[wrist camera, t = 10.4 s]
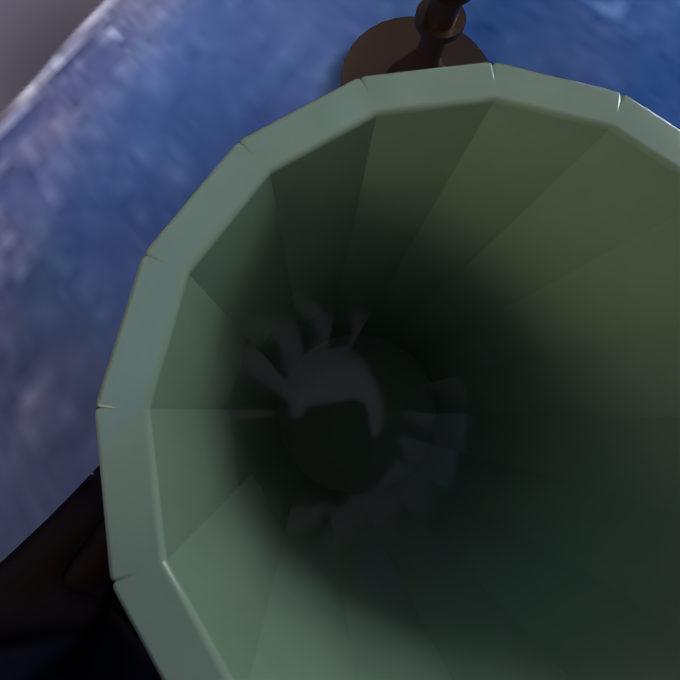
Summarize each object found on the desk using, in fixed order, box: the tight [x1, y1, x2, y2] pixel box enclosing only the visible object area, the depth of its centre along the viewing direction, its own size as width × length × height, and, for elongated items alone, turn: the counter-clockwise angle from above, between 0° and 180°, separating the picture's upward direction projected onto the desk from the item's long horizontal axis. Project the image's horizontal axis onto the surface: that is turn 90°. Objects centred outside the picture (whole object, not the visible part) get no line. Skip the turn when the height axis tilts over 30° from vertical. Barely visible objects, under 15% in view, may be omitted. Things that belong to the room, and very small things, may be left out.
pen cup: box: [95, 62, 680, 680], centre depth 9 cm, size 6×6×12 cm
